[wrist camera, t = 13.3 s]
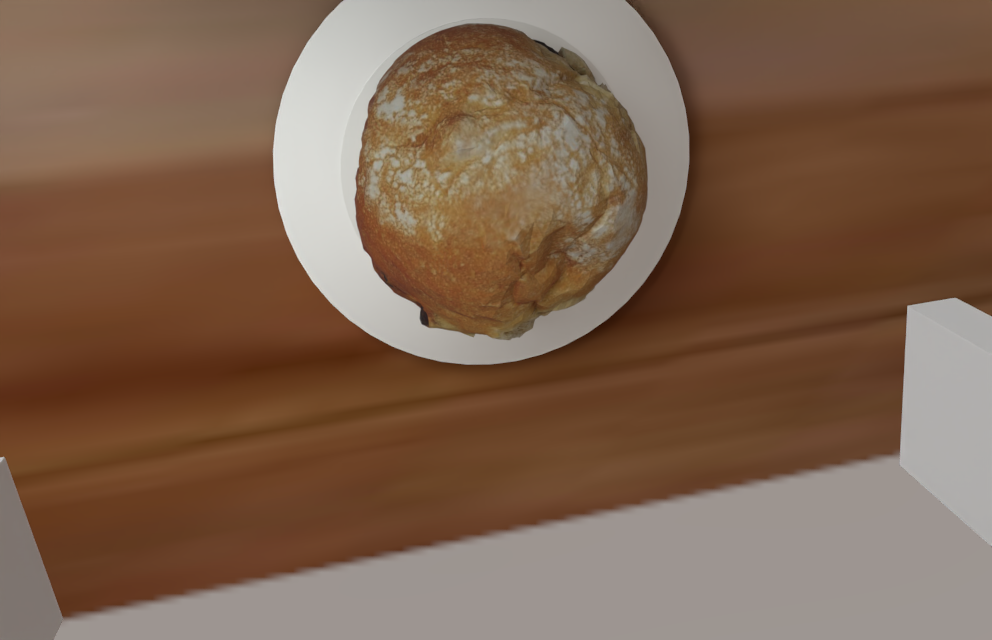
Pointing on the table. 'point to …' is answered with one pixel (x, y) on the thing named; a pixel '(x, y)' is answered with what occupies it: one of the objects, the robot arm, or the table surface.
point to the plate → (337, 143)
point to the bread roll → (496, 180)
